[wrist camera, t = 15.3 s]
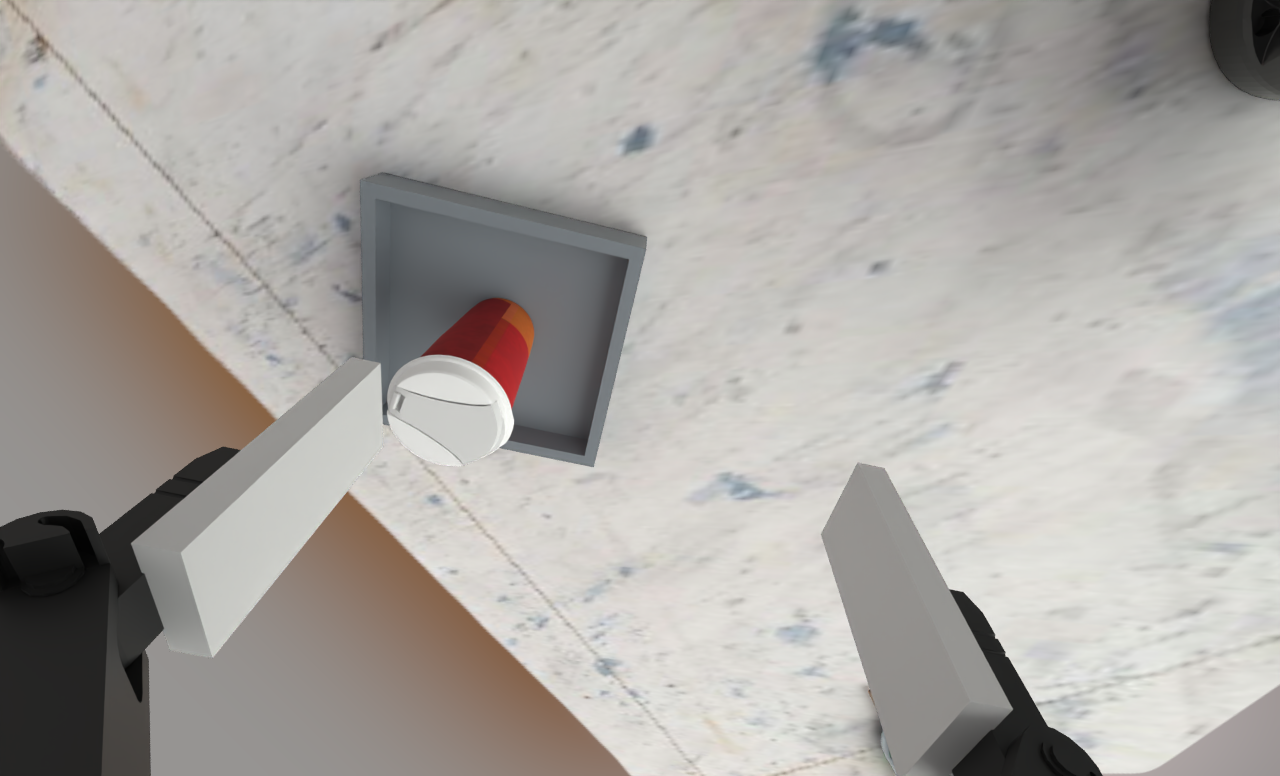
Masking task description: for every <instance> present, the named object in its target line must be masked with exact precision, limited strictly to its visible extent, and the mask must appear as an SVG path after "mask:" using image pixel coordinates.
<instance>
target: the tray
mask: <svg viewBox="0 0 1280 776" xmlns="http://www.w3.org/2000/svg"><path fill="white" fill-rule="evenodd" d="M360 205H361V257H362V309H363V359H364V360H368V361H373V362H378V363H381V387H382V415H383V424H384V425H389V426H390V424H389V422H388V417H387V410H388V403H387V393H388V388H389V385H390V382H391V380H392V378H393V377H394V375H395V374H396V373H397V371H398V370H399V369H400V368H401V367H403V366H404V365H405V364H407V363H408V362H410V361H412V360H414V359H417V358H419V357H420V356H422V355H423V354H424V353H425V352H426V351H427V350H428V349H429V348H430V347H431V346H432V344H433V343H434V342H435V341H436V340H437V339H438V338H439V337H440V336H441V335H442V334H444V333H445V332H446V331H447V330H448V329H449V328H451V327H452V326H453V325H454V324H455V323H456V322H457V321H458V320H459V319H460V318H461V317H463V316H464V315H465V314H466V313H467V312H468V311H469V310H470V309H471V308H473V307H474V306H475V305H476V304H478V303H480V302H481V301H484V300H486V299H490V298H503V299H507V300H510V301H512V302H514V303H516V304H518V305H519V306H520V307H522V308H523V309H524V310H525V311H526V312H527V314H528V315H529V317H530V318H531V321H532V323H533V327H534V340H533V344H532V348H531V351H530V355H529V358H528V361H527V364H526V367H525V371H524V374H523V377H522V380H521V383H520V386H519V389H518V392H517V395H516V398H515V401H514V404H513V407H512V414H513V418H514V426H513V430H512V433H511V435H510V437H509V439H508V441H507V442H506V443H505V444H504V445H502V446H501V447H499V448H502V449H507V450H512V451H517V452H522V453H527V454H531V455H536V456H541V457H546V458H551V459H556V460H561V461H566V462H571V463H576V464H581V465H585V466H590V467H594V463H595V459H596V455H597V451H598V447H599V443H600V439H601V434H602V430H603V426H604V422H605V418H606V414H607V410H608V405H609V401H610V397H611V393H612V389H613V385H614V380H615V376H616V372H617V368H618V364H619V360H620V356H621V351H622V347H623V343H624V339H625V335H626V331H627V327H628V322H629V318H630V314H631V310H632V306H633V302H634V297H635V293H636V289H637V285H638V281H639V277H640V273H641V268H642V264H643V260H644V256H645V252H646V244H647V237H645V236H641V235H637V234H633V233H629V232H625V231H621V230H616V229H612V228H608V227H604V226H600V225H596V224H592V223H588V222H584V221H580V220H575V219H571V218H567V217H563V216H559V215H555V214H551V213H547V212H543V211H538V210H534V209H530V208H526V207H522V206H518V205H514V204H510V203H506V202H502V201H497V200H493V199H489V198H485V197H481V196H477V195H473V194H469V193H465V192H460V191H456V190H452V189H448V188H444V187H440V186H436V185H432V184H428V183H424V182H419V181H415V180H411V179H407V178H403V177H399V176H395V175H391V174H387V173H380V174H377V175H374V176H371V177H368V178H365V179H362V180H360Z"/></svg>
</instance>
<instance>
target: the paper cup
mask: <svg viewBox="0 0 1280 776" xmlns="http://www.w3.org/2000/svg"><path fill="white" fill-rule="evenodd" d="M533 340H534V327H533V323H532V321H531V318H530V317H529V315H528V314H527V312H526V311H525V310H524V309H523V308H522V307H520V306H519V305H518V304H516V303H514V302H512V301H510V300H507V299H503V298H490V299H486V300H484V301H481V302H480V303H478V304H476V305H475V306H474V307H473V308H471V309H470V310H469V311H468V312H467V313H466V314H465V315H464V316H463V317H461V318H460V319H459V320H458V321H457V322H456V323H455V324H454V325H453V326H452V327H451V328H449V329H448V330H447V331H446V332H445V333H444V334H442V335H441V336H440V337H439V338H438V339H437V340H436V341H435V342H434V343H433V344H432V346H431V347H430V348H429V349H428V350H427V351H426V352H425V353H424V354H423V355H422V356H420V357H419V358H417V359H414V360H412V361H410V362H408V363H407V364H405V365H404V366H403V367H401V368H400V369H399V370H398V371H397V373H396V374H395V375H394V377H393V378H392V380H391V382H390V385H389V388H388V393H387V403H388V410H387V417H388V422H389V424H390V427H391V429H392V431H393V433H394V435H395V436H396V438H397V439H398V440H399V442H400V443H401V444H402V445H403V446H404V447H405V448H406V449H408V450H409V451H410V452H411V453H413V454H415V455H416V456H418V457H419V458H422V459H424V460H426V461H428V462H431V463H434V464H438V465H443V466H463V465H466V464H469V463H472V462H474V461H476V460H478V459H481V458H482V457H485V456H487V455H489V454H491V453H493V452H494V451H495V450H497V449H498V448H499V447H501V446H502V445H504V444H505V443H506V442H507V441H508V439H509V437H510V435H511V433H512V430H513V426H514V418H513V414H512V407H513V404H514V401H515V398H516V395H517V392H518V389H519V386H520V383H521V380H522V377H523V374H524V371H525V367H526V364H527V361H528V358H529V355H530V351H531V348H532V344H533Z"/></svg>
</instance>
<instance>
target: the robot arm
mask: <svg viewBox="0 0 1280 776" xmlns="http://www.w3.org/2000/svg"><path fill="white" fill-rule="evenodd" d="M1210 38H1211V44H1212V49H1213V52H1214V56H1215V58H1216V61H1217V63H1218V65H1219V67H1220V69H1221V70H1222V72H1223V73H1224V75H1225V76H1226V77H1227V78H1228V79H1229V80H1230V81H1231V82H1232V83H1233V84H1234V85H1235V86H1236V87H1238V88H1239V89H1241V90H1243V91H1244V92H1246V93H1249V94H1251V95H1254V96H1257V97H1260V98H1265V99H1272V100H1280V0H1212V3H1211V10H1210ZM383 446H384V444H383V415H382V387H381V363H378V362H373V361H368V360H364V359H359V358H354V357H351V358H350V359H349V360H347V361H346V362H345V363H344V364H343V365H341V366H340V367H339V368H338V369H337V370H336V371H334V372H333V373H332V374H331V375H330V376H328V377H327V378H326V379H325V380H324V381H322V382H321V383H320V384H319V385H318V386H317V387H315V388H314V389H313V390H312V391H311V392H309V393H308V394H307V395H306V396H305V397H304V398H302V399H301V400H300V401H299V402H298V403H296V404H295V405H294V406H293V407H292V408H291V409H289V410H288V411H287V412H286V413H285V414H283V415H282V416H281V417H280V418H279V419H278V420H276V421H275V422H274V423H273V424H272V425H270V426H269V427H268V428H267V429H266V430H264V431H263V432H262V433H261V434H260V435H259V436H257V437H256V438H255V439H254V440H253V441H252V442H250V443H249V444H248V445H247V446H246V447H244V448H243V449H242V450H238V449H232V448H227V447H221V448H219V449H217V450H215V451H212V452H210V453H208V454H205V455H203V456H201V457H199V458H196V459H195V460H193V461H192V462H191V463H189V464H188V465H187V466H186V467H184V468H183V469H182V470H181V471H179V472H178V473H177V474H175V475H174V477H173V479H172V480H171V479H169V480H168V481H166V482H165V483H164V484H163V485H161V486H160V487H159V488H157V489H156V492H155V493H154V494H152V493H151V494H150V495H149V496H147V497H146V498H145V499H143V500H142V501H141V502H140V503H138V504H137V505H136V506H135V507H133V508H132V509H131V510H129V511H128V512H127V513H125V514H124V515H123V516H122V517H120V518H119V519H118V520H117V521H115V522H114V523H113V524H112V525H110V526H109V527H108V528H106V529H105V530H104V531H102V532H101V533H100V534H99V533H98V531H97V528H96V526H95V523H94V521H93V518H92V517H90V516H88V515H86V514H84V513H82V512H79V511H69V510H57V511H48V512H40V513H37V514H33V515H30V516H26V517H23V518H19V519H16V520H14V521H12V522H10V523H8V524H6V525H4V526H2V527H0V776H151V769H150V768H151V767H150V712H149V660H148V657H147V654H146V651H145V649H146V648H147V647H148V645H149V644H150V643H151V642H152V641H153V640H154V639H155V638H156V637H157V636H158V635H159V634H160V633H161V632H162V631H163V633H164V636H165V639H166V641H167V644H168V647H169V650H170V651H176V652H181V653H187V654H192V655H198V656H203V657H209V658H213V657H214V656H215V655H216V653H217V652H218V651H219V650H220V648H221V647H222V645H224V643H225V642H226V641H227V640H228V638H229V637H230V636H231V635H232V633H233V632H234V631H235V630H236V629H237V627H238V626H239V625H240V624H241V622H242V621H243V620H244V619H245V617H246V616H247V615H248V614H249V612H250V611H251V610H252V609H253V607H254V606H255V605H256V604H257V602H258V601H259V600H260V599H261V598H262V596H263V595H264V594H265V592H266V591H267V590H268V589H269V587H270V586H271V585H272V584H273V583H274V581H275V580H276V579H277V578H278V576H279V575H280V574H281V573H282V572H283V570H284V569H285V568H286V567H287V565H288V564H289V563H290V562H291V560H292V559H293V558H294V557H295V555H296V554H297V553H298V552H299V550H300V549H301V548H302V547H303V545H304V544H305V543H306V542H307V541H308V539H309V538H310V537H311V536H312V534H313V533H314V532H315V531H316V529H317V528H318V527H319V526H320V524H321V523H322V522H323V521H324V519H325V518H326V517H327V516H328V514H329V513H330V512H331V511H332V509H333V508H334V507H335V506H336V504H337V503H338V502H339V501H340V500H341V498H342V497H343V496H344V494H345V493H346V492H347V491H348V490H349V488H350V487H351V486H352V485H353V483H354V482H355V481H356V480H357V479H358V477H359V476H360V475H361V474H362V472H363V471H364V470H365V469H366V467H367V466H368V465H369V464H370V462H371V461H372V460H373V459H374V457H375V456H376V455H377V454H378V452H379V451H380V450H381V449H382V448H383ZM821 536H822V539H823V542H824V545H825V548H826V552H827V555H828V558H829V561H830V564H831V567H832V571H833V574H834V577H835V580H836V583H837V586H838V590H839V593H840V596H841V599H842V602H843V605H844V609H845V612H846V615H847V618H848V621H849V624H850V628H851V631H852V634H853V637H854V640H855V643H856V647H857V650H858V653H859V656H860V659H861V662H862V666H863V669H864V672H865V675H866V678H867V681H868V685H869V688H870V691H871V694H872V697H873V700H874V704H875V707H876V710H877V713H878V716H879V719H880V723H881V726H882V729H883V732H884V735H885V738H886V742H887V745H888V748H889V751H890V754H891V757H892V761H893V764H894V767H895V770H896V773H897V776H949V775H950V774H951V773H953V775H954V776H1102V774H1101V772H1100V770H1099V768H1098V767H1097V765H1096V764H1095V763H1094V762H1093V760H1092V759H1091V758H1090V757H1089V756H1088V754H1087V753H1086V752H1085V751H1084V750H1083V749H1082V748H1081V747H1079V746H1078V745H1077V744H1076V743H1075V742H1074V741H1073V740H1071V739H1070V738H1069V737H1067V736H1066V735H1064V734H1062V733H1060V732H1059V731H1057V730H1055V729H1054V728H1050V727H1048V726H1047V724H1046V722H1045V721H1044V719H1043V717H1042V715H1041V714H1040V712H1039V710H1038V708H1037V707H1036V705H1035V703H1034V701H1033V700H1032V698H1031V696H1030V694H1029V693H1028V691H1027V689H1026V688H1025V686H1024V684H1023V682H1022V681H1021V679H1020V677H1019V675H1018V674H1017V672H1016V670H1015V668H1014V667H1013V665H1012V663H1011V661H1010V660H1009V658H1008V657H1006V656H1005V651H1004V649H1003V647H1002V646H1001V644H1000V642H999V640H998V639H995V633H994V632H993V630H992V628H991V626H990V625H989V623H988V621H987V619H986V618H985V616H984V614H983V613H982V612H981V611H980V609H979V608H978V607H977V606H976V605H975V604H974V603H973V602H972V601H971V600H970V599H969V598H968V597H967V596H966V595H965V593H964V592H960V591H955V590H950V589H949V588H948V587H947V585H946V583H945V581H944V579H943V577H942V575H941V573H940V572H939V570H938V568H937V566H936V564H935V562H934V560H933V558H932V557H931V555H930V553H929V551H928V549H927V547H926V545H925V543H924V542H923V540H922V538H921V536H920V534H919V532H918V530H917V528H916V527H915V525H914V523H913V521H912V519H911V517H910V515H909V513H908V512H907V510H906V508H905V506H904V504H903V502H902V500H901V498H900V497H899V495H898V493H897V491H896V489H895V487H894V485H893V483H892V482H891V480H890V478H889V476H888V474H887V472H886V470H885V468H881V467H876V466H872V465H867V464H862V463H857V465H856V467H855V469H854V471H853V473H852V475H851V477H850V479H849V481H848V483H847V485H846V486H845V488H844V490H843V492H842V494H841V496H840V498H839V500H838V502H837V504H836V506H835V508H834V510H833V512H832V514H831V516H830V518H829V520H828V522H827V524H826V526H825V527H824V529H823V531H822V533H821Z"/></svg>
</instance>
